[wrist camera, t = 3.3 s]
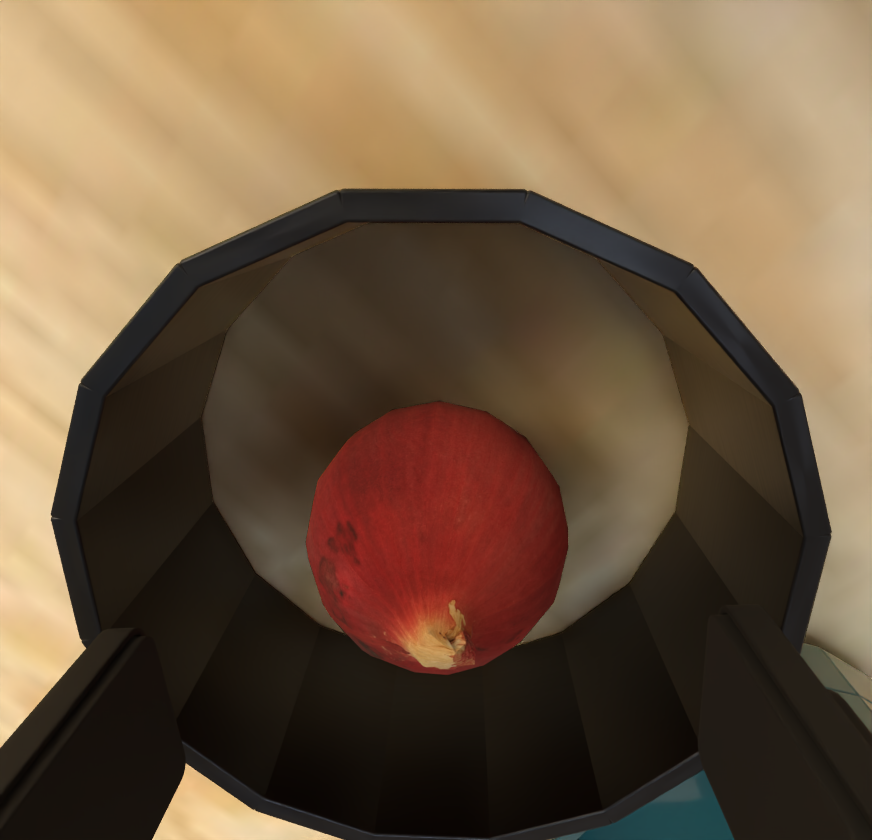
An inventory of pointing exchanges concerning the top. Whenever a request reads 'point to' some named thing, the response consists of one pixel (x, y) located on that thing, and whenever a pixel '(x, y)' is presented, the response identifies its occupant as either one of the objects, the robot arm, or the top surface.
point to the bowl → (694, 798)
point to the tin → (390, 684)
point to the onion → (437, 538)
